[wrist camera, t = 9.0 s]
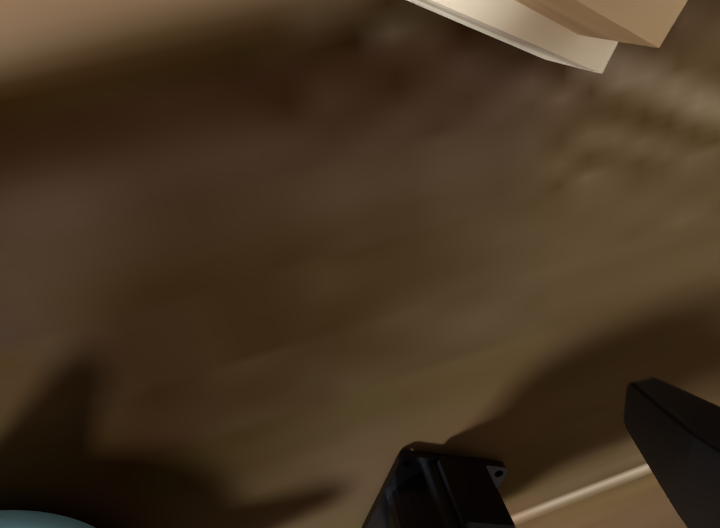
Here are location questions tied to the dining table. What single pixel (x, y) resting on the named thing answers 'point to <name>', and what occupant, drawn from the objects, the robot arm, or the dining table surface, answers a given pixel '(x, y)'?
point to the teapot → (37, 520)
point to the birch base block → (526, 31)
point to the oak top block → (613, 18)
